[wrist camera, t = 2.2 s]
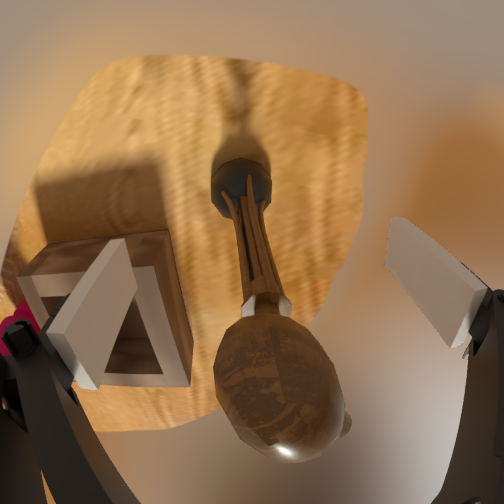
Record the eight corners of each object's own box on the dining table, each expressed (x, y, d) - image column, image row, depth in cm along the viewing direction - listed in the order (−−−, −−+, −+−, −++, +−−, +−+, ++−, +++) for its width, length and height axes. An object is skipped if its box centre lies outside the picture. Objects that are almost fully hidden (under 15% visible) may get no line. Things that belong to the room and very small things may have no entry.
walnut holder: (89, 343, 29) (73, 381, 23) (47, 244, 23) (15, 276, 17) (193, 342, 29) (190, 387, 24) (168, 229, 23) (153, 265, 18)
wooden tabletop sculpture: (288, 205, 23) (421, 442, 6) (242, 236, 24) (281, 498, 6) (247, 146, 21) (370, 350, 3) (198, 181, 22) (123, 448, 4)
